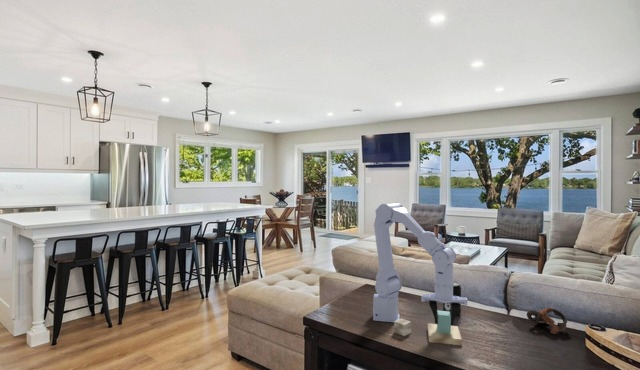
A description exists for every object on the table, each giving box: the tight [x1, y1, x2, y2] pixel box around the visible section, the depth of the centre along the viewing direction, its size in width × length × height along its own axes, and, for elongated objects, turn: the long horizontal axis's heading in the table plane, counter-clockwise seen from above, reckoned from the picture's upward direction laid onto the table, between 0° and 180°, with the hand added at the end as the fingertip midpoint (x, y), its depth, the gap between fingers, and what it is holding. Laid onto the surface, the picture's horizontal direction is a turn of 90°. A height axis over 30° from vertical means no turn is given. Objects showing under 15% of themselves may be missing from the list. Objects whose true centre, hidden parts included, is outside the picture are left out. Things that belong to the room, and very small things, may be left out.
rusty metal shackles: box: [526, 307, 568, 335], centre depth 122 cm, size 12×10×8 cm
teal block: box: [437, 309, 451, 334], centre depth 116 cm, size 4×4×6 cm
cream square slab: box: [427, 322, 463, 346], centre depth 116 cm, size 10×10×2 cm
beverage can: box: [442, 280, 462, 317], centre depth 136 cm, size 7×7×12 cm
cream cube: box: [393, 317, 412, 337], centre depth 119 cm, size 4×4×4 cm
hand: (443, 323), depth 116 cm, fingers open, 4 cm apart
